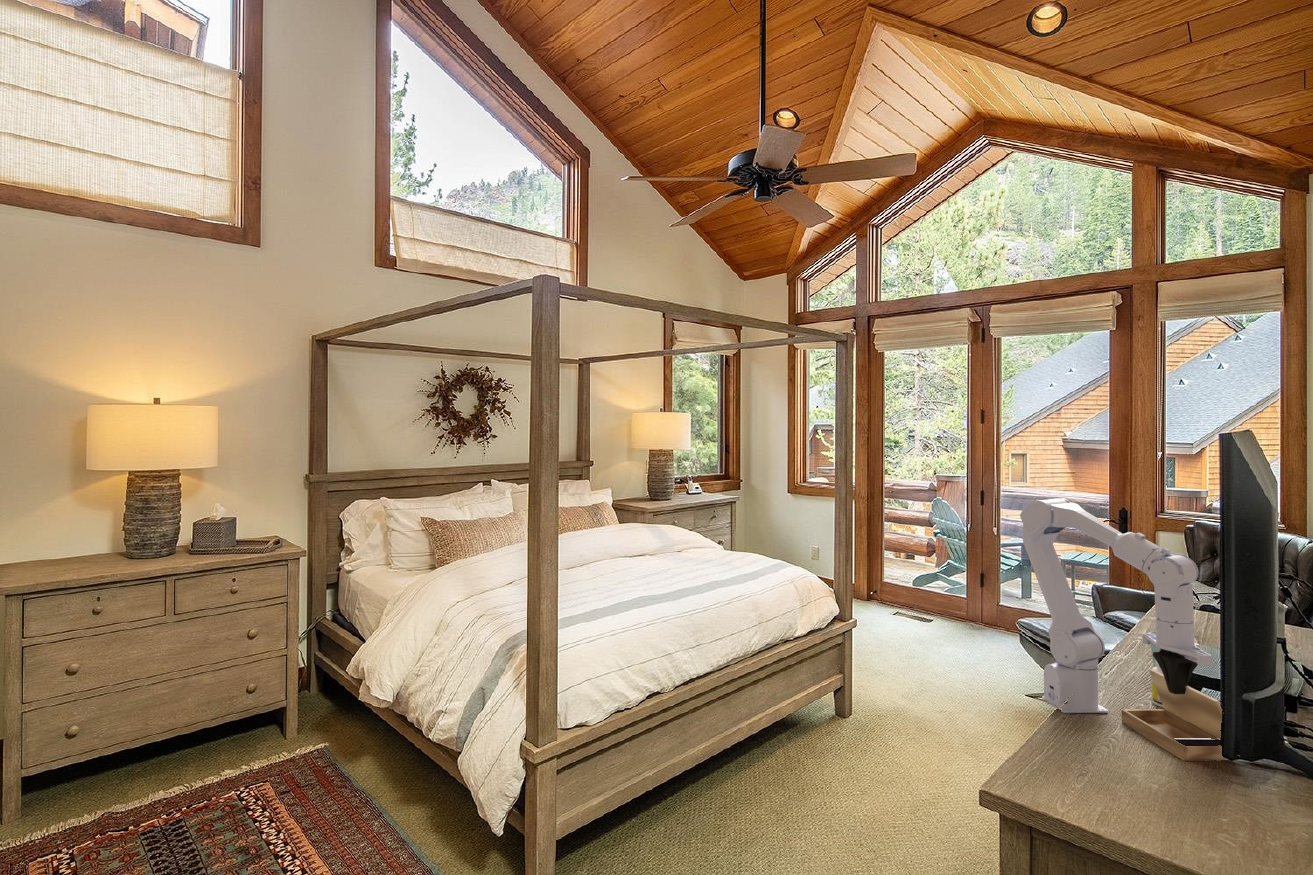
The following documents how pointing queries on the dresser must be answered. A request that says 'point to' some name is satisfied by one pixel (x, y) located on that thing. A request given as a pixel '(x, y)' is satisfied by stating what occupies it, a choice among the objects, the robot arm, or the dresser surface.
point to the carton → (1171, 733)
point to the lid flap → (1190, 706)
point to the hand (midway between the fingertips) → (1176, 692)
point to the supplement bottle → (1154, 691)
